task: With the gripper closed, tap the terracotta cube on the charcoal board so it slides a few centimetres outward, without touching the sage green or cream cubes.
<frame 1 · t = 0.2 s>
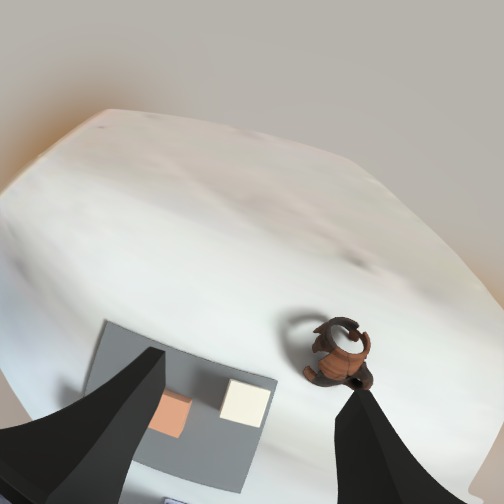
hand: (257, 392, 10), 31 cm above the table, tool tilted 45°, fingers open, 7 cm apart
terracotta cube: (170, 408, 34), point 1 cm above the table, touching board
board: (169, 413, 34), on the table
pottery mug: (333, 360, 40), on the table
cream cube: (242, 399, 36), point 1 cm above the table, touching board
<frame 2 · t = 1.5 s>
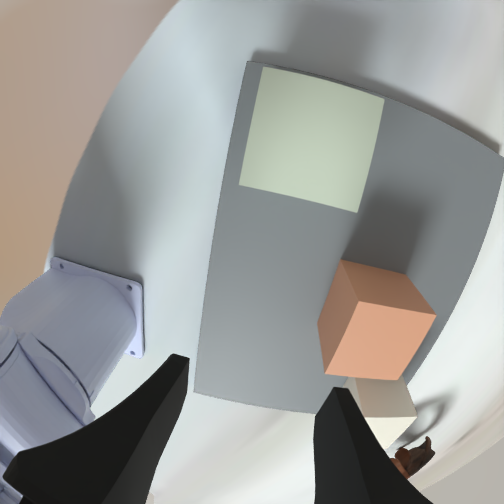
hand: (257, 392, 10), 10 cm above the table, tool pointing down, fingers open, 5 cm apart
terracotta cube: (361, 299, 18), point 1 cm above the table, touching board
board: (346, 290, 19), on the table
pottery mug: (381, 441, 27), on the table
sage cube: (303, 139, 15), point 1 cm above the table, touching board
cream cube: (366, 391, 22), point 1 cm above the table, touching board
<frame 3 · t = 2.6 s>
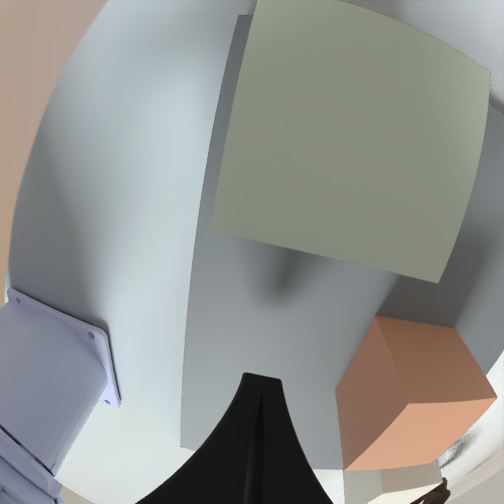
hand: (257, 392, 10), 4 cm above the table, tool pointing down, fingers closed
terracotta cube: (396, 361, 12), point 1 cm above the table, touching board
board: (375, 347, 13), on the table
pottery mug: (393, 480, 21), on the table
sage cube: (329, 135, 9), point 1 cm above the table, touching board
cream cube: (384, 447, 16), point 1 cm above the table, touching board
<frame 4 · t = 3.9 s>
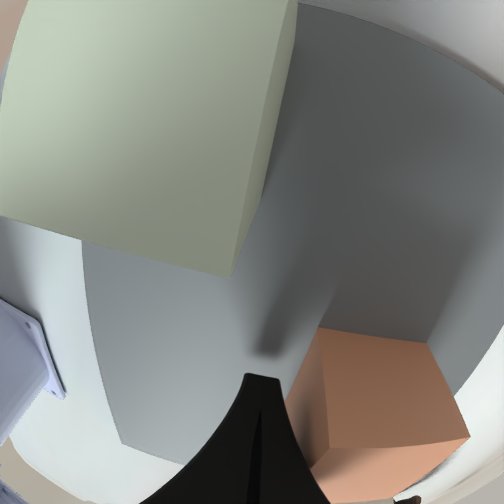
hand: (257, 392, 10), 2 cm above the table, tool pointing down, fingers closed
terracotta cube: (353, 380, 11), point 1 cm above the table, touching gripper
board: (298, 357, 12), on the table
pottery mug: (362, 494, 20), on the table
sage cube: (194, 104, 8), point 1 cm above the table, touching board
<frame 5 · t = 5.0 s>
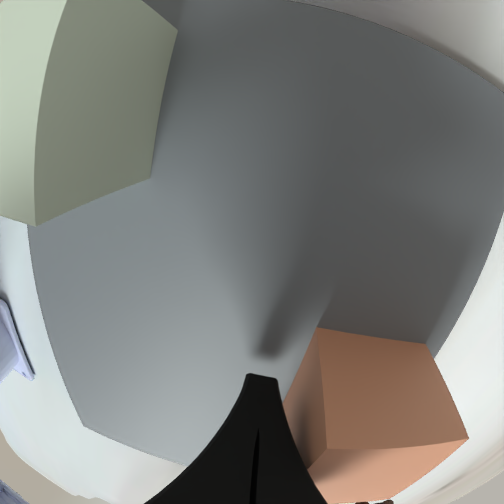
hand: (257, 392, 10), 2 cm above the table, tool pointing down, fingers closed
terracotta cube: (351, 380, 11), point 1 cm above the table, touching board, gripper
board: (217, 340, 12), on the table
sage cube: (98, 100, 8), point 1 cm above the table, touching board
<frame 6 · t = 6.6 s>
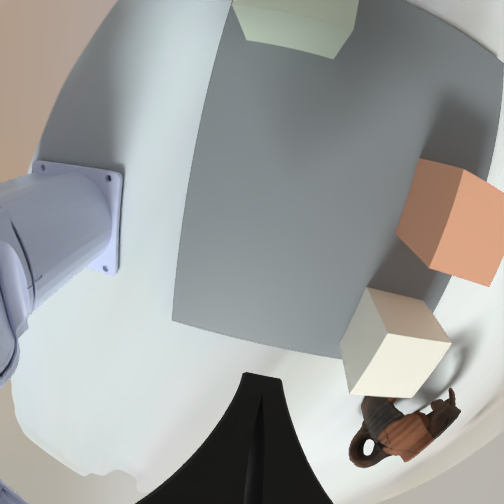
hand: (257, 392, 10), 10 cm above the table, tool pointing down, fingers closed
terracotta cube: (438, 208, 15), point 1 cm above the table, touching board
board: (353, 176, 16), on the table
pottery mug: (394, 401, 24), on the table
sage cube: (298, 14, 12), point 1 cm above the table, touching board
cream cube: (382, 322, 19), point 1 cm above the table, touching board
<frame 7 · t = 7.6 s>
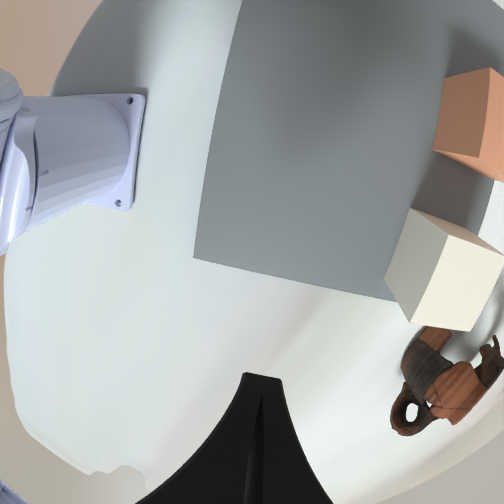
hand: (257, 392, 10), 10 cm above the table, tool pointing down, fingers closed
terracotta cube: (468, 128, 13), point 1 cm above the table, touching board
board: (385, 93, 14), on the table
pottery mug: (434, 358, 21), on the table
cream cube: (426, 253, 16), point 1 cm above the table, touching board
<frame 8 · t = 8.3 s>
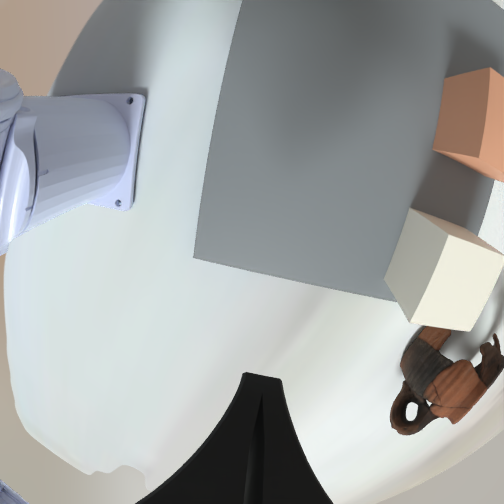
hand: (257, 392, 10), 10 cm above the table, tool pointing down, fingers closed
terracotta cube: (468, 128, 13), point 1 cm above the table, touching board
board: (385, 93, 14), on the table
pottery mug: (434, 357, 21), on the table
cream cube: (426, 253, 16), point 1 cm above the table, touching board
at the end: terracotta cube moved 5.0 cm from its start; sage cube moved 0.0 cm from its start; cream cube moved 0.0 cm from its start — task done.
